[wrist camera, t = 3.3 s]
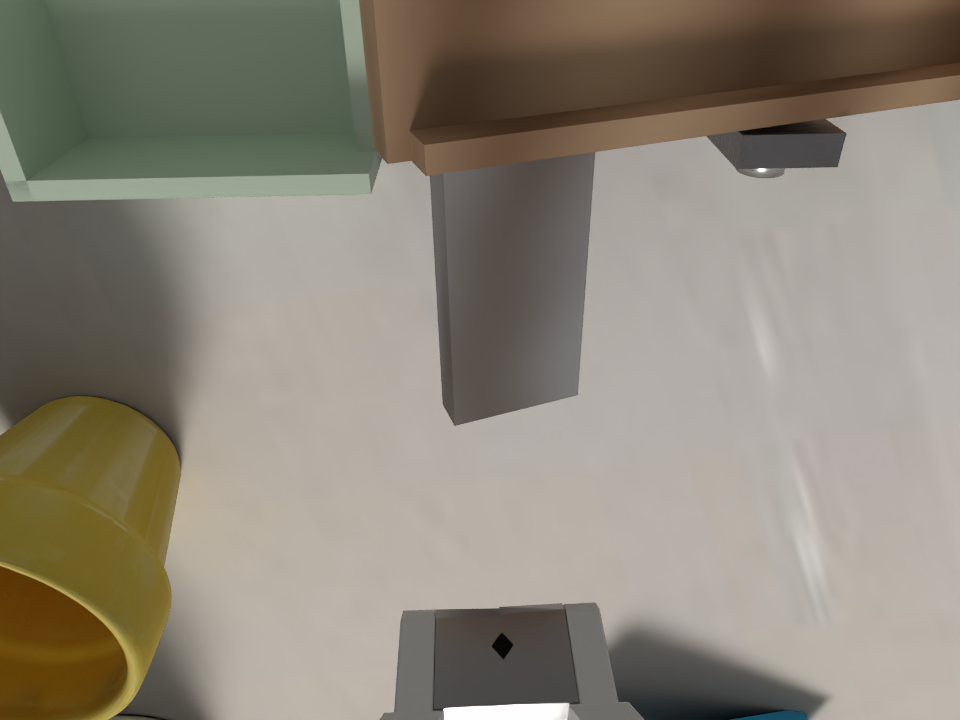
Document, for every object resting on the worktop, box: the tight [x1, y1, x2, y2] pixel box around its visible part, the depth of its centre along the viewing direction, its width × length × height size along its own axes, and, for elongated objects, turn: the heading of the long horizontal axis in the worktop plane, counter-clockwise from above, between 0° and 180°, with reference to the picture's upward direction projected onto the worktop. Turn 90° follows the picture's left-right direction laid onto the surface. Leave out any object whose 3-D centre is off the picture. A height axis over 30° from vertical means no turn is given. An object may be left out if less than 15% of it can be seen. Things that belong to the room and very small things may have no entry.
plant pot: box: [0, 396, 181, 720], centre depth 28 cm, size 10×10×10 cm
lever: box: [359, 0, 960, 426], centre depth 17 cm, size 20×13×4 cm, turn 91°
